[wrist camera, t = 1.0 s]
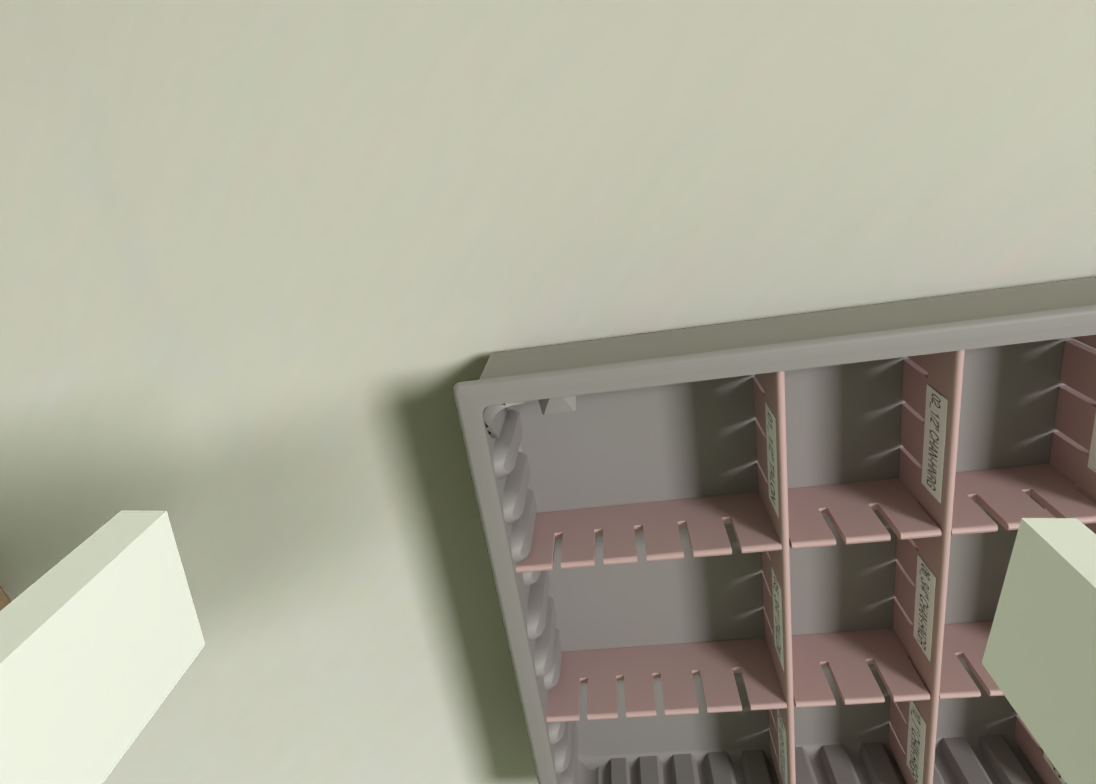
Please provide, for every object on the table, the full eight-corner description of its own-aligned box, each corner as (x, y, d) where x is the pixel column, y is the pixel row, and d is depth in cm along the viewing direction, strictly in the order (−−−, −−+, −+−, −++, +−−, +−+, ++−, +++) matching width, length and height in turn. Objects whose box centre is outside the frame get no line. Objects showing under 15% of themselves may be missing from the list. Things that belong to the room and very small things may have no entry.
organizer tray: (478, 334, 38) (440, 401, 29) (1261, 232, 33) (1517, 273, 24) (560, 748, 49) (552, 891, 40) (1152, 716, 45) (1297, 869, 36)
